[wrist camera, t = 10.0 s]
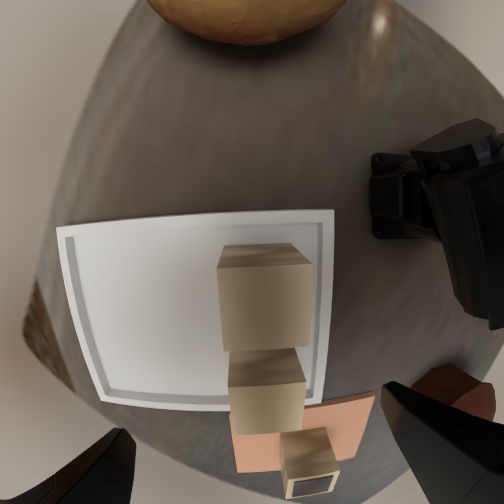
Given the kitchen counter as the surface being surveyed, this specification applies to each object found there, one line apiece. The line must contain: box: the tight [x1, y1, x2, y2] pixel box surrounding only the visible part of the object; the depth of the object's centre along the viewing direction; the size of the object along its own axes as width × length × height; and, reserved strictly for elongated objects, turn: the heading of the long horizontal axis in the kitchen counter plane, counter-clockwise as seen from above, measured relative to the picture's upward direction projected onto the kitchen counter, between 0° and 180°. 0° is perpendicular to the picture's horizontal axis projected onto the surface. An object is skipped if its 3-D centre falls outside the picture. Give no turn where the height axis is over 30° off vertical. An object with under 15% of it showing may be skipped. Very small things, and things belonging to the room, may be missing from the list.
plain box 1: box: [217, 243, 313, 352], centre depth 16 cm, size 4×4×6 cm
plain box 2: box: [228, 347, 307, 435], centre depth 17 cm, size 4×4×6 cm
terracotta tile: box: [229, 391, 375, 473], centre depth 23 cm, size 14×11×1 cm
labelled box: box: [279, 427, 340, 499], centre depth 20 cm, size 4×4×6 cm
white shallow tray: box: [56, 209, 334, 411], centre depth 19 cm, size 20×16×2 cm
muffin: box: [411, 363, 496, 421], centre depth 19 cm, size 12×11×10 cm
